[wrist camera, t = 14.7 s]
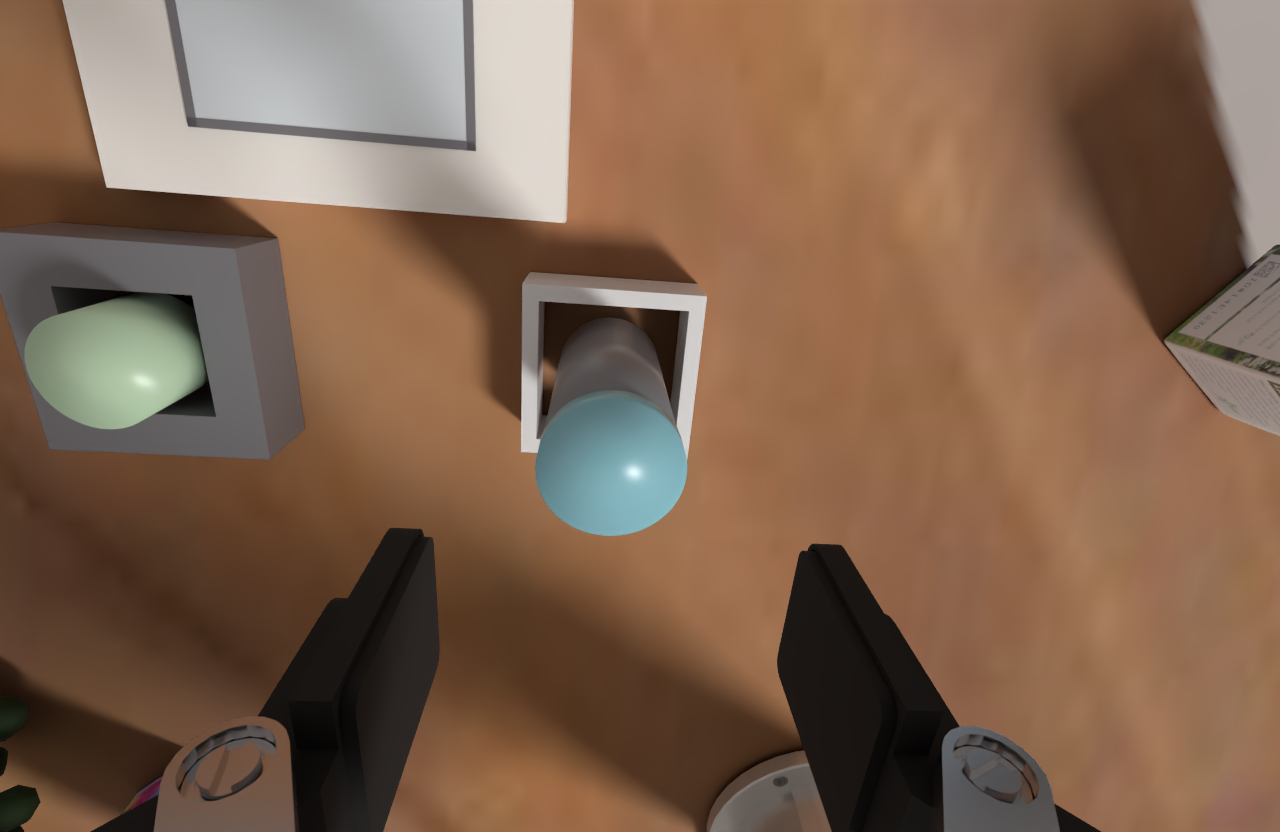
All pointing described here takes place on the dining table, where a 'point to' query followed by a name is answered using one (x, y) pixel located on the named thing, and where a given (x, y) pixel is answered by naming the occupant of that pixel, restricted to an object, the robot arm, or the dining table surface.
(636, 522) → the marker
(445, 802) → the dining table surface
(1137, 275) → the dining table surface
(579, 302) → the marker holder
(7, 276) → the button housing
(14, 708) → the toy figurine
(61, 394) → the button
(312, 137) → the picture board
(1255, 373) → the syrup box
